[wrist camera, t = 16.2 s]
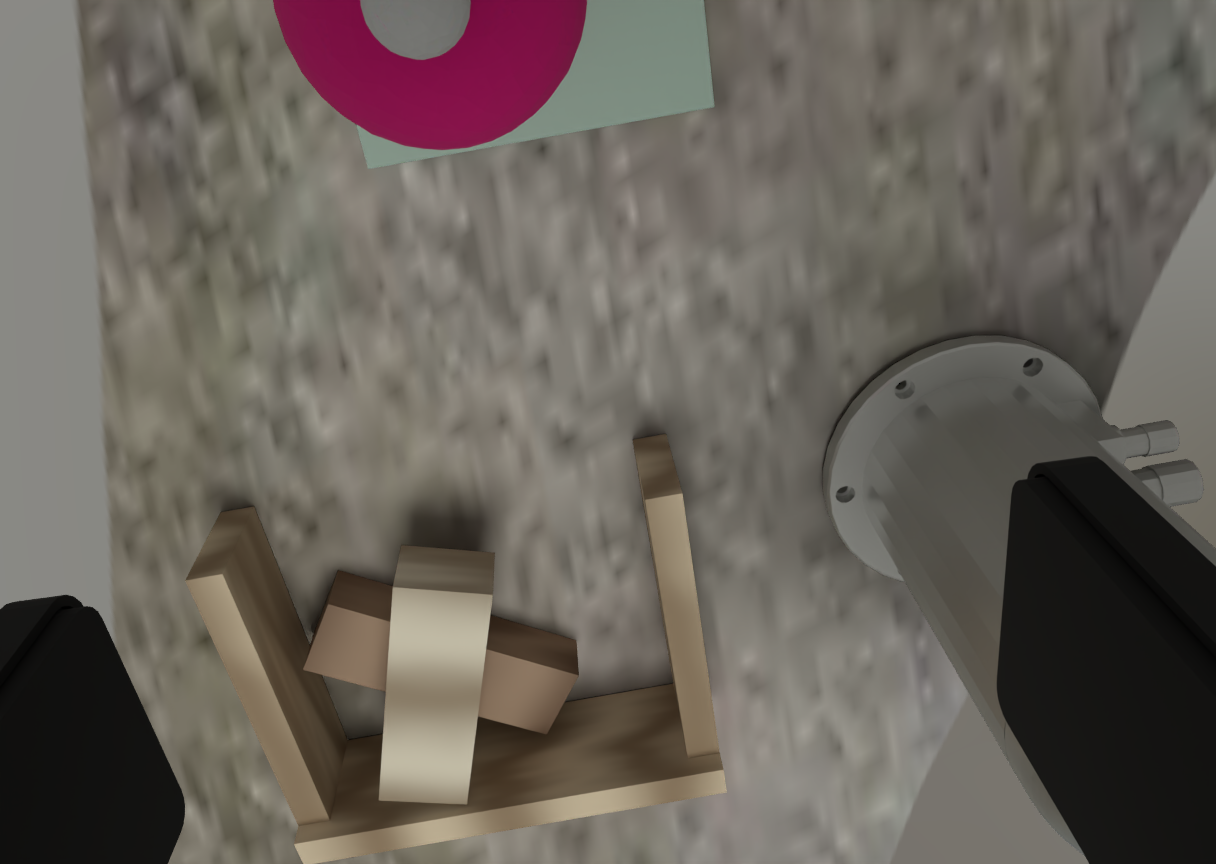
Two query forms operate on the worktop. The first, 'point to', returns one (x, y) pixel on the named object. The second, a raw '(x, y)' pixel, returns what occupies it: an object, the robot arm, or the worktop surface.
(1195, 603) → the robot arm
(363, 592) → the walnut offcut
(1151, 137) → the worktop surface
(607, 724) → the oak rack
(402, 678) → the birch offcut
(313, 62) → the pepper mill
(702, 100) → the green mat
